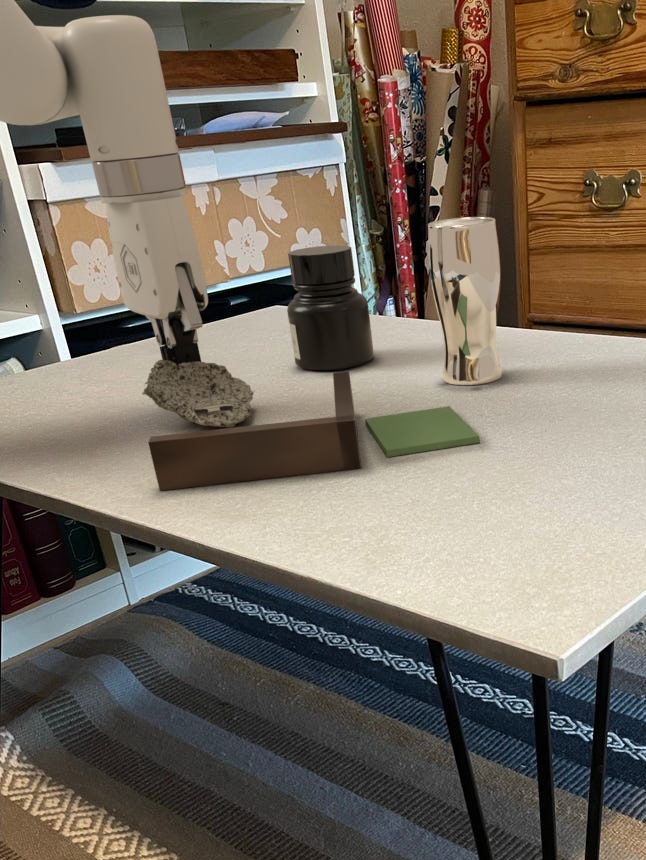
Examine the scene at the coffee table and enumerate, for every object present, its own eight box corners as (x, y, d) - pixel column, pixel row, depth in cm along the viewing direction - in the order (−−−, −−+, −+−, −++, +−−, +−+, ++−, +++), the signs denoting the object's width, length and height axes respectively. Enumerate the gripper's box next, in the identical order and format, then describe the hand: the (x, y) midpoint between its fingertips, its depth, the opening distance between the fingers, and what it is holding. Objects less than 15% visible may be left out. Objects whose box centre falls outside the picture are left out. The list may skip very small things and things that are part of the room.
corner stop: (159, 491, 78) (147, 442, 76) (183, 431, 91) (174, 389, 89) (361, 468, 79) (354, 419, 77) (354, 413, 93) (349, 371, 91)
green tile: (387, 457, 81) (386, 450, 81) (365, 424, 89) (364, 418, 89) (480, 442, 83) (479, 435, 82) (450, 412, 91) (449, 405, 91)
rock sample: (186, 402, 85) (169, 321, 88) (148, 450, 90) (134, 372, 93) (287, 425, 92) (269, 350, 95) (247, 468, 97) (231, 396, 100)
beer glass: (447, 369, 105) (435, 218, 98) (511, 368, 104) (503, 215, 96) (432, 387, 99) (417, 228, 92) (499, 386, 98) (490, 224, 90)
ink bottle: (327, 350, 117) (312, 243, 111) (390, 353, 113) (378, 243, 107) (278, 371, 110) (259, 257, 104) (344, 375, 106) (328, 257, 100)
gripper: (70, 184, 91) (122, 382, 100) (133, 187, 80) (184, 408, 89) (147, 175, 94) (190, 366, 103) (216, 176, 84) (257, 388, 93)
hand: (187, 385), depth 96 cm, fingers closed
